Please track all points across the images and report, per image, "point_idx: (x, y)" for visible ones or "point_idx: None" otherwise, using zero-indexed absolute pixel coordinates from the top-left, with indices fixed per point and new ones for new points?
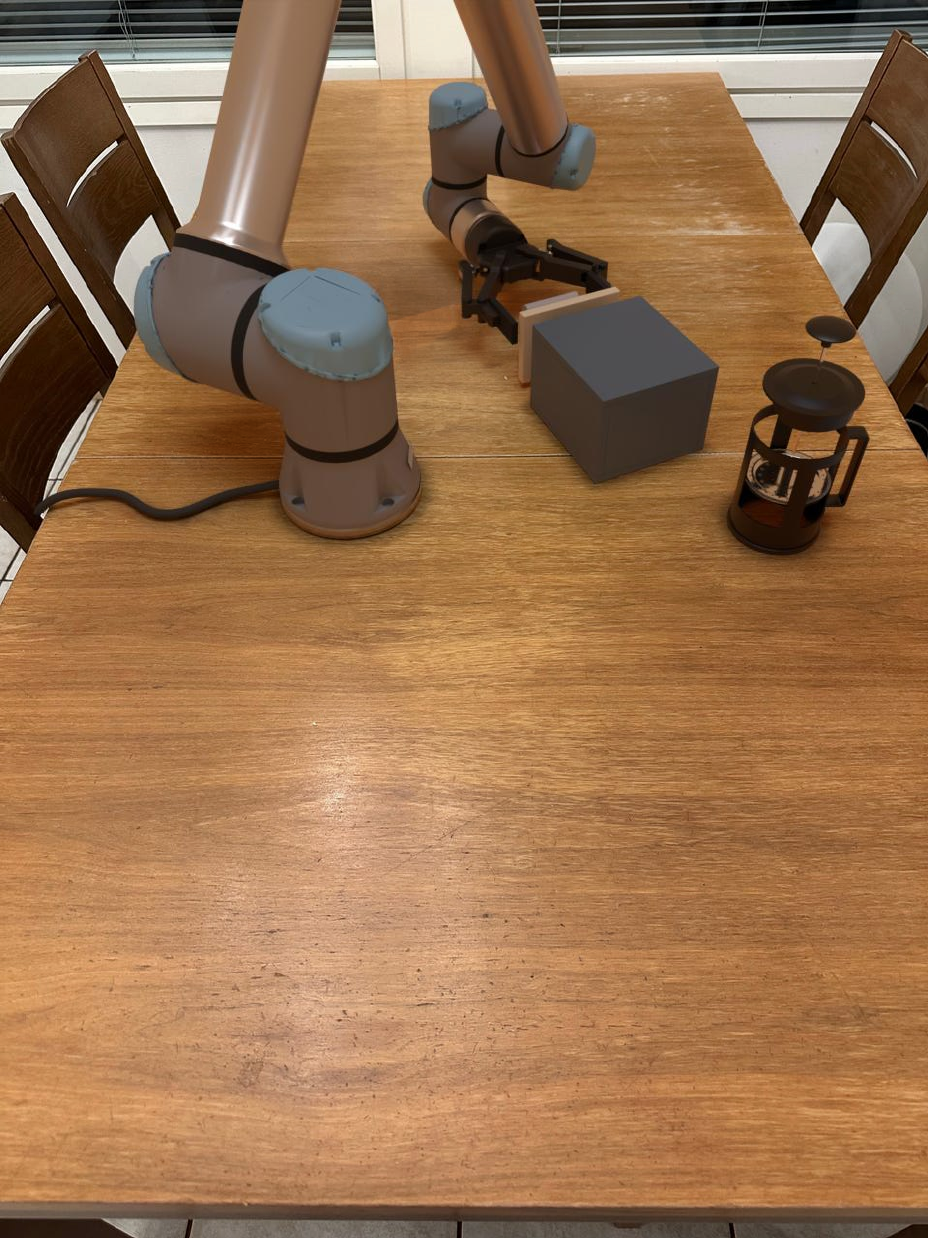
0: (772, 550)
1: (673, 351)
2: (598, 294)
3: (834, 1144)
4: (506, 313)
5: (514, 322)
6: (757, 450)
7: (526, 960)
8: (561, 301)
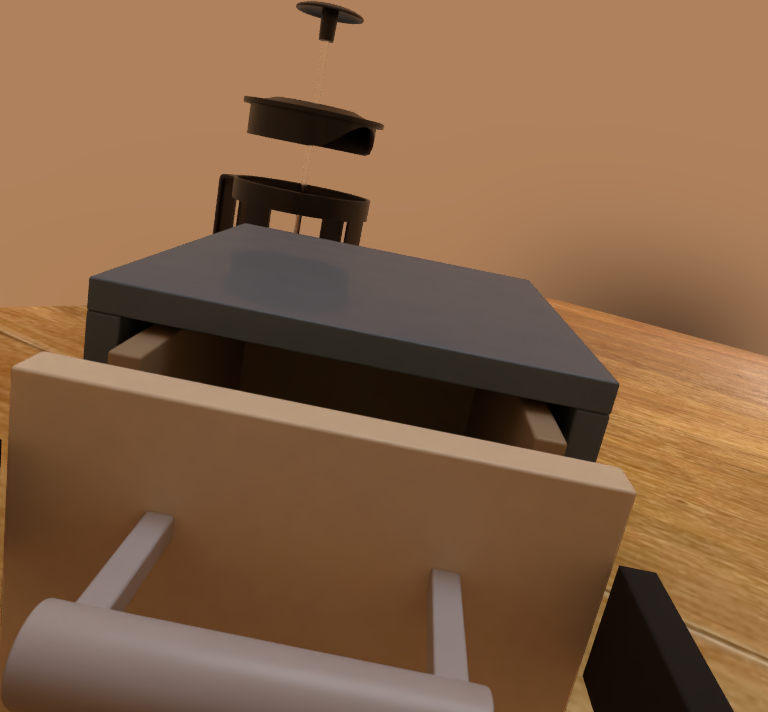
0: None
1: (284, 245)
2: (157, 382)
3: (569, 306)
4: (679, 651)
5: (640, 577)
6: (366, 217)
7: (711, 362)
8: (371, 436)
